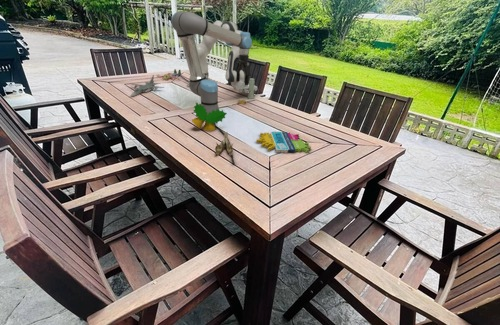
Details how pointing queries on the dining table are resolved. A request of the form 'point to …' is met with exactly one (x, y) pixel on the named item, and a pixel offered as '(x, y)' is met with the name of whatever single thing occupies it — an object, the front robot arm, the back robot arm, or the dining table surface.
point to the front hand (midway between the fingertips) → (241, 83)
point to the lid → (241, 101)
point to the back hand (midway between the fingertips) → (251, 91)
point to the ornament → (207, 117)
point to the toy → (171, 75)
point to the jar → (251, 88)
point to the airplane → (145, 87)
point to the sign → (283, 142)
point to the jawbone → (224, 145)
